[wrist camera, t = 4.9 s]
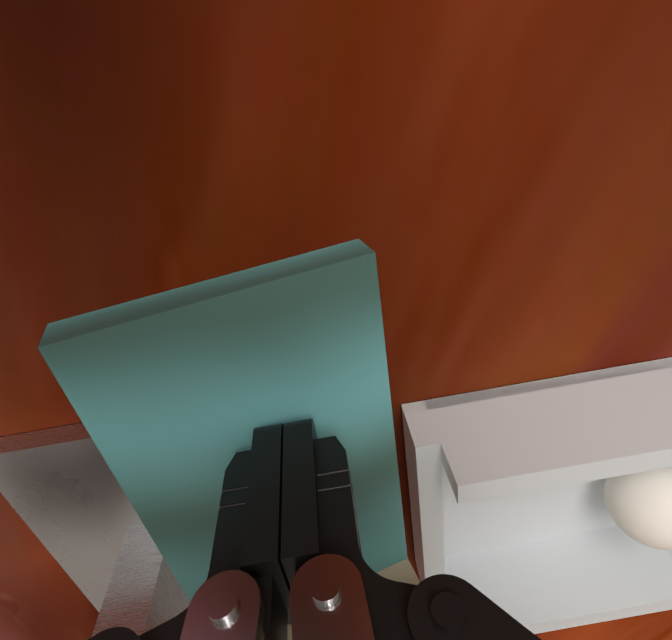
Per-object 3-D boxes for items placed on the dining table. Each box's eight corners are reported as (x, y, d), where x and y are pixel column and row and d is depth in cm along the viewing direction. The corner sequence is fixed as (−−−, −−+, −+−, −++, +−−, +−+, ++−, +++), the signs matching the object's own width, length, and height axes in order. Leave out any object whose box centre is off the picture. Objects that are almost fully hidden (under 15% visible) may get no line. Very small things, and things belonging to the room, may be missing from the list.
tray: (401, 404, 19) (429, 491, 16) (717, 348, 19) (824, 421, 16) (415, 561, 26) (438, 651, 22) (655, 518, 26) (720, 600, 22)
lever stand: (-13, 439, 18) (-131, 590, 13) (229, 397, 18) (206, 531, 13) (134, 630, 27) (97, 768, 21) (301, 600, 27) (304, 731, 21)
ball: (744, 476, 19) (643, 423, 22) (694, 531, 17) (592, 466, 20) (715, 534, 21) (627, 478, 24) (668, 588, 19) (580, 521, 22)
